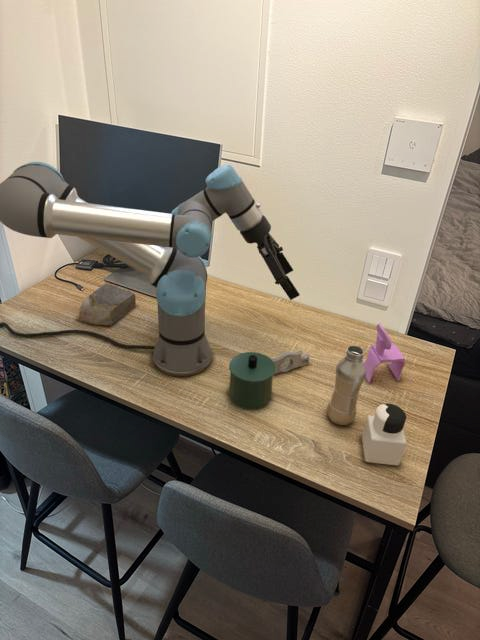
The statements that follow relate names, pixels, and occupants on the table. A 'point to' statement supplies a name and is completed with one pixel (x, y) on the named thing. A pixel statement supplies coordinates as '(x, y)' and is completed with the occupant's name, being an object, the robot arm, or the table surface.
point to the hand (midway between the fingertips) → (291, 284)
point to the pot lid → (252, 367)
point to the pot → (250, 393)
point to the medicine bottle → (384, 435)
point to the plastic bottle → (347, 386)
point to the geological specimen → (106, 305)
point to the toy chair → (384, 355)
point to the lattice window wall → (290, 360)
